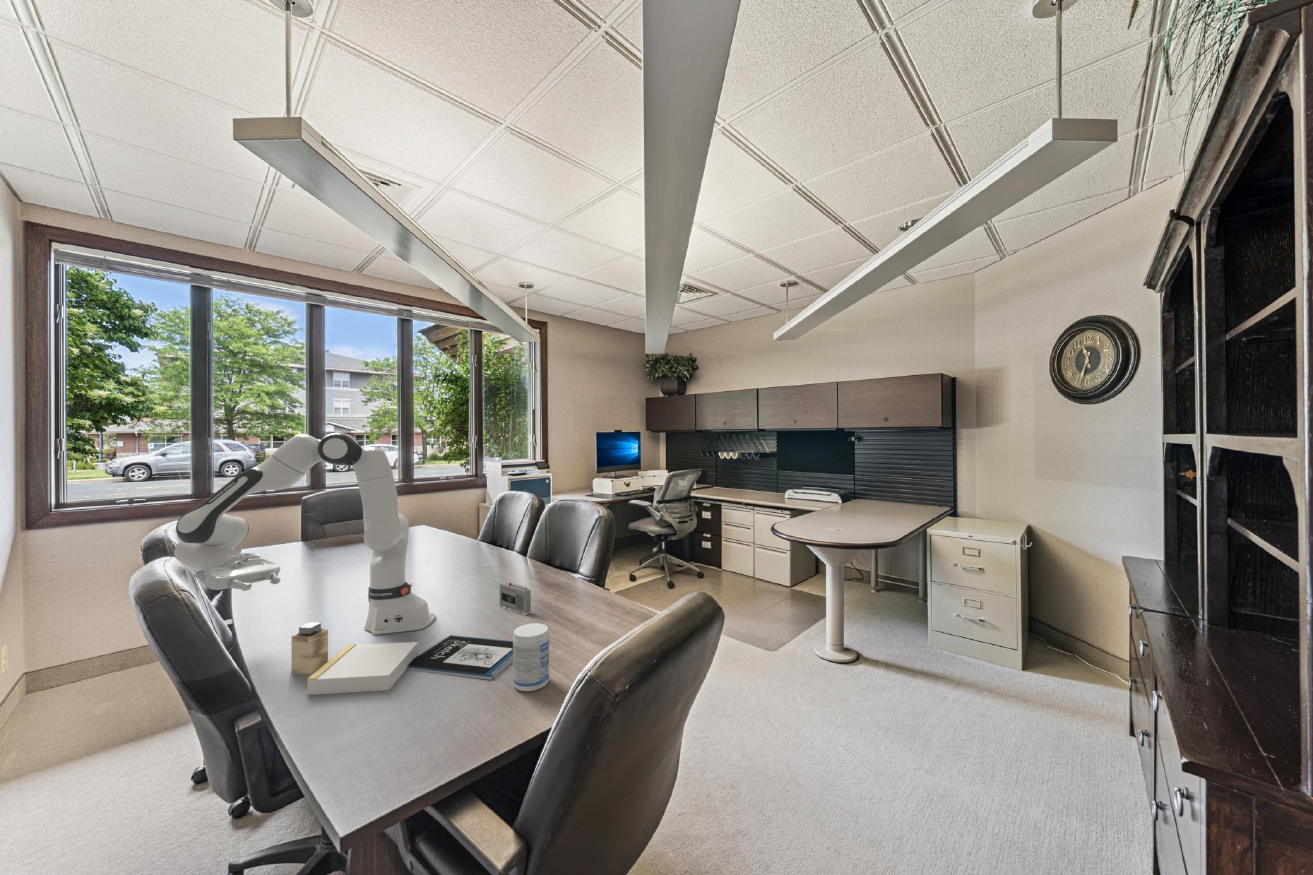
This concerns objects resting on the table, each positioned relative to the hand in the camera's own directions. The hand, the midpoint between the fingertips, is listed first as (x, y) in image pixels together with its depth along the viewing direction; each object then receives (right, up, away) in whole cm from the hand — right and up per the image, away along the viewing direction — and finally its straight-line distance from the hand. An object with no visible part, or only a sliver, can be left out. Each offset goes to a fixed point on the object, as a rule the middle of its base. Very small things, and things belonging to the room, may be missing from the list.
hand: (263, 584), depth 141 cm
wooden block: (+18, -22, -6) cm, 30 cm away
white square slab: (+37, -22, -9) cm, 44 cm away
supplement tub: (+85, -23, -14) cm, 89 cm away
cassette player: (+64, -23, +40) cm, 79 cm away
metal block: (+18, -13, -6) cm, 24 cm away
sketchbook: (+62, -23, +1) cm, 66 cm away
